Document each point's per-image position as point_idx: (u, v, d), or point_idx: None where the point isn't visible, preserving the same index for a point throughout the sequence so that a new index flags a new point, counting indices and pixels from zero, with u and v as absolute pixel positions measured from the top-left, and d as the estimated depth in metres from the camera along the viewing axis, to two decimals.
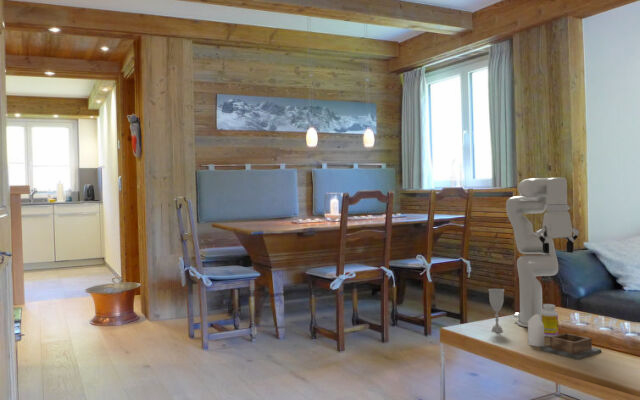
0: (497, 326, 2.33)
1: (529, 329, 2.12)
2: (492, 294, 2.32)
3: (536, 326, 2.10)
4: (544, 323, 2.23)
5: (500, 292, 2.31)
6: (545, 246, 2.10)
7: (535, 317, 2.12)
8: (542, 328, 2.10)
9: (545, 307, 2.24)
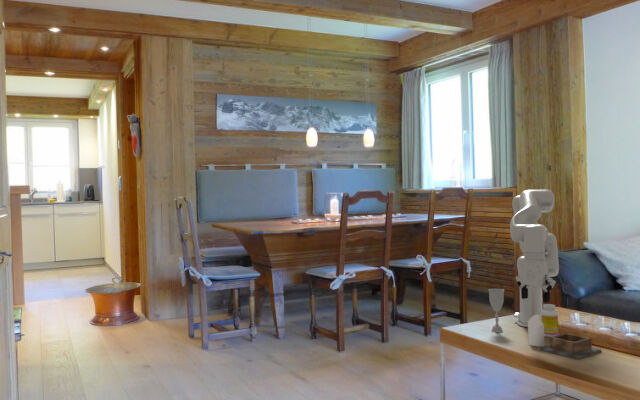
0: (497, 326, 2.33)
1: (529, 329, 2.12)
2: (492, 294, 2.32)
3: (536, 326, 2.10)
4: (544, 323, 2.23)
5: (500, 292, 2.31)
6: None
7: (535, 317, 2.12)
8: (542, 328, 2.10)
9: (545, 307, 2.24)
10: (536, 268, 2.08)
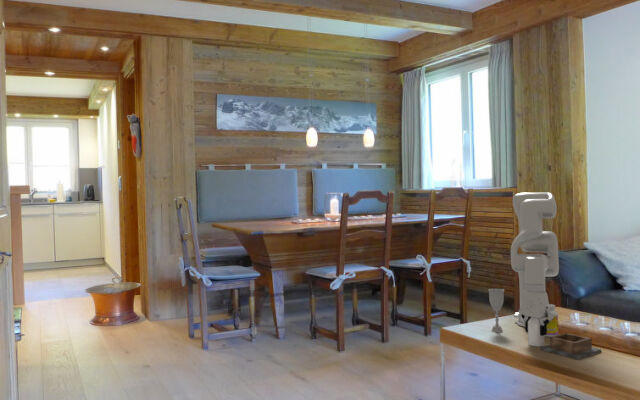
0: (497, 326, 2.33)
1: (529, 329, 2.12)
2: (492, 294, 2.32)
3: (536, 326, 2.10)
4: None
5: (500, 292, 2.31)
6: None
7: None
8: None
9: None
10: (537, 300, 2.08)
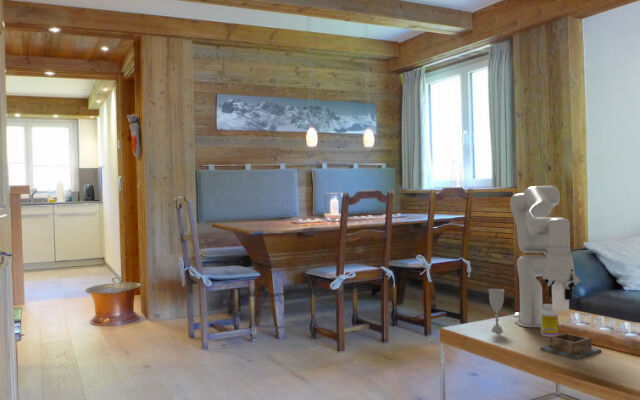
0: (497, 326, 2.33)
1: (553, 293, 2.05)
2: (492, 294, 2.32)
3: (560, 290, 2.03)
4: (544, 323, 2.23)
5: (500, 292, 2.31)
6: None
7: (559, 281, 2.05)
8: None
9: (545, 307, 2.24)
10: (561, 262, 2.01)
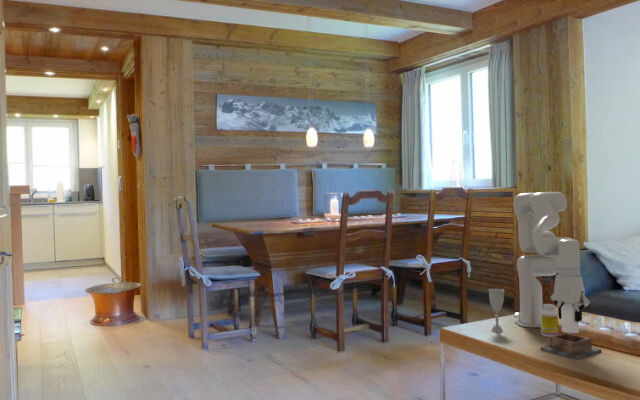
0: (497, 326, 2.33)
1: (563, 315, 2.02)
2: (492, 294, 2.32)
3: (570, 312, 2.00)
4: (544, 323, 2.23)
5: (500, 292, 2.31)
6: None
7: (569, 303, 2.02)
8: None
9: (545, 307, 2.24)
10: (571, 284, 1.99)
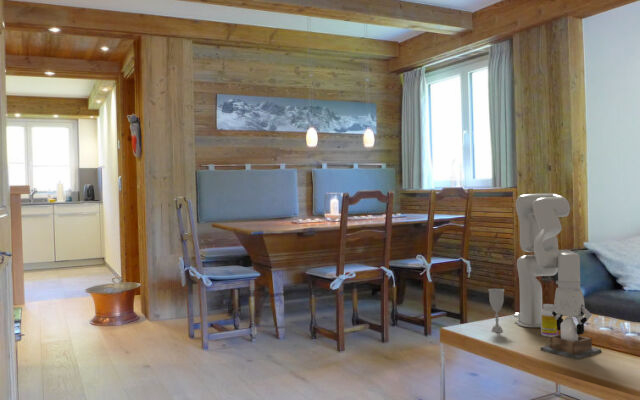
0: (497, 326, 2.33)
1: (562, 332, 2.03)
2: (492, 294, 2.32)
3: (569, 329, 2.01)
4: (544, 323, 2.23)
5: (500, 292, 2.31)
6: None
7: (568, 319, 2.03)
8: (576, 331, 2.01)
9: (545, 307, 2.24)
10: (572, 298, 1.99)
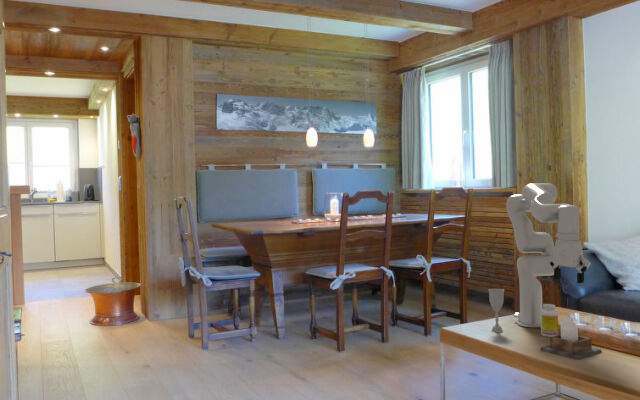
0: (497, 326, 2.33)
1: (562, 332, 2.03)
2: (492, 294, 2.32)
3: (569, 329, 2.01)
4: (544, 323, 2.23)
5: (500, 292, 2.31)
6: None
7: (568, 319, 2.03)
8: (576, 331, 2.01)
9: (545, 307, 2.24)
10: (570, 249, 2.04)
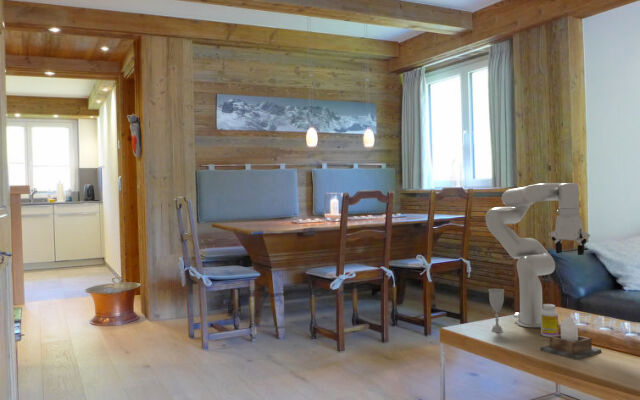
0: (497, 326, 2.33)
1: (562, 332, 2.03)
2: (492, 294, 2.32)
3: (569, 329, 2.01)
4: (544, 323, 2.23)
5: (500, 292, 2.31)
6: None
7: (568, 319, 2.03)
8: (576, 331, 2.01)
9: (545, 307, 2.24)
10: (571, 223, 2.19)
